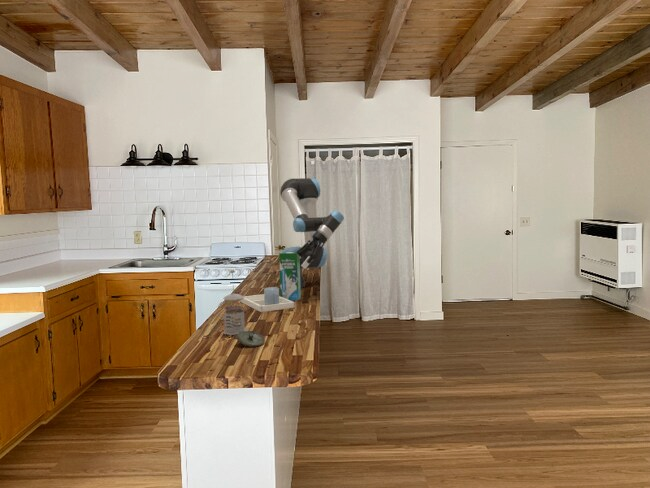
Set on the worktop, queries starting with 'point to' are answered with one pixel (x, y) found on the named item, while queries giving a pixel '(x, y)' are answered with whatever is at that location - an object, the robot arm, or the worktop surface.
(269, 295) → the mug
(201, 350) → the worktop surface
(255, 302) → the tray
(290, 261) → the milk carton
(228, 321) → the french press
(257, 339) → the lid
